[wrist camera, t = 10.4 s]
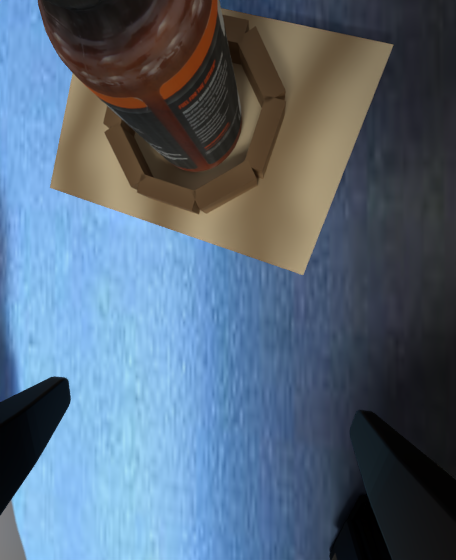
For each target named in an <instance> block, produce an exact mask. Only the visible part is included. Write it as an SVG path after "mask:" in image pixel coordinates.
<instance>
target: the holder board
mask: <svg viewBox="0 0 456 560" xmlns="http://www.w3.org/2000/svg"><path fill="white" fill-rule="evenodd" d="M221 11H222V16H223V21H224V26H225V30H226V35H227V41H228V46H229V50H230V55H231V60H232V65H233V70H234V74H235V79H236V84H237V90H238V94H239V99H240V104H241V113H242V127H241V133H240V136H239V139H238V142H237V144H236V146H235V148H234V149H233V151H232V152H231V154H230V155H229V156H228V157H227V158H226V159H225V160H224V161H223V162H222V163H220V164H219V165H218V166H216V167H214V168H212V169H209V170H206V171H200V172H189V171H185V170H183V169H180V168H178V167H176V166H174V165H173V164H171V163H170V162H169V161H167V160H166V159H165V158H164V157H163V156H162V155H161V154H159V153H158V152H157V151H156V150H155V149H154V148H153V147H152V146H151V145H150V144H148V143H147V142H146V141H145V140H144V139H143V138H142V137H141V136H140V135H139V134H137V133H136V132H135V131H134V130H133V129H132V128H131V127H130V126H128V125H127V124H126V122H124V121H123V120H122V119H121V118H120V117H119V116H118V115H117V114H116V113H115V112H114V111H112V110H111V109H110V108H109V107H108V106H107V105H106V104H105V103H104V102H102V101H101V100H100V99H99V98H98V97H97V96H96V95H95V94H94V93H93V92H92V91H91V90H90V89H89V88H88V87H86V86H85V85H84V84H83V83H82V82H81V81H80V80H79V79H78V78H77V77H76V76H75V75H74V74H73V75H72V80H71V85H70V90H69V95H68V100H67V105H66V110H65V115H64V120H63V125H62V130H61V135H60V140H59V145H58V150H57V155H56V160H55V165H54V170H53V175H52V180H51V185H50V188H52V189H55V190H58V191H61V192H64V193H67V194H70V195H73V196H75V197H78V198H81V199H84V200H87V201H90V202H93V203H96V204H99V205H102V206H104V207H107V208H110V209H113V210H116V211H119V212H122V213H125V214H128V215H130V216H133V217H136V218H139V219H142V220H145V221H148V222H151V223H154V224H157V225H159V226H162V227H165V228H168V229H171V230H174V231H177V232H180V233H183V234H185V235H188V236H191V237H194V238H197V239H200V240H203V241H206V242H209V243H212V244H214V245H217V246H220V247H223V248H226V249H229V250H232V251H235V252H238V253H240V254H243V255H246V256H249V257H252V258H255V259H258V260H261V261H264V262H267V263H269V264H272V265H275V266H278V267H281V268H284V269H287V270H290V271H293V272H295V273H298V274H301V275H303V274H304V271H305V269H306V266H307V264H308V261H309V259H310V256H311V254H312V251H313V249H314V246H315V243H316V241H317V238H318V236H319V233H320V231H321V228H322V226H323V223H324V220H325V218H326V215H327V213H328V210H329V208H330V205H331V203H332V200H333V198H334V195H335V192H336V190H337V187H338V185H339V182H340V180H341V177H342V175H343V172H344V170H345V167H346V164H347V162H348V159H349V157H350V154H351V152H352V149H353V147H354V144H355V142H356V139H357V136H358V134H359V131H360V129H361V126H362V124H363V121H364V119H365V116H366V114H367V111H368V108H369V106H370V103H371V101H372V98H373V96H374V93H375V91H376V88H377V86H378V83H379V80H380V78H381V75H382V73H383V70H384V68H385V65H386V63H387V60H388V58H389V55H390V52H391V50H392V47H393V44H388V43H383V42H378V41H374V40H369V39H364V38H360V37H355V36H350V35H345V34H341V33H336V32H331V31H326V30H322V29H317V28H312V27H308V26H303V25H298V24H293V23H289V22H284V21H279V20H275V19H270V18H265V17H260V16H256V15H251V14H246V13H241V12H237V11H232V10H227V9H223V8H221Z"/></svg>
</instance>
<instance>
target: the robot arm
mask: <svg viewBox="0 0 456 560" xmlns="http://www.w3.org/2000/svg"><path fill="white" fill-rule="evenodd" d="M70 400H71V396H70V389H69V381H68V379H67V378H64V377H50V378H48V379H46V380H44V381H42V382H40V383H38V384H36V385H34V386H32V387H30V388H28V389H26V390H24V391H22V392H20V393H18V394H16V395H14V396H12V397H10V398H8V399H6V400H4V401H2V402H0V515H1V514H2V512H3V511H4V509H5V508H6V506H7V505H8V503H9V502H10V501H11V499H12V498H13V496H14V495H15V493H16V492H17V490H18V489H19V487H20V486H21V484H22V483H23V482H24V480H25V479H26V477H27V476H28V474H29V473H30V471H31V470H32V468H33V467H34V465H35V464H36V462H37V461H38V459H39V457H40V456H41V454H42V452H43V451H44V449H45V447H46V445H47V444H48V442H49V440H50V438H51V437H52V435H53V433H54V431H55V430H56V428H57V426H58V424H59V423H60V421H61V419H62V417H63V416H64V414H65V412H66V410H67V409H68V407H69V404H70ZM350 438H351V442H352V445H353V448H354V452H355V455H356V458H357V462H358V465H359V469H360V472H361V475H362V479H363V482H364V485H365V489H366V492H367V495H368V496H366V495H362V496H360V497H359V498H358V500H357V502H356V504H355V506H354V508H353V510H352V512H351V514H350V516H349V518H348V520H347V521H346V522H345V524H344V526H343V528H342V530H341V532H340V534H339V536H338V538H337V540H336V542H335V544H334V547H333V549H332V551H331V553H330V556H329V557H330V560H456V480H455V479H454V478H453V477H452V476H450V475H449V474H448V473H447V472H445V471H444V470H443V469H442V468H441V467H439V466H438V465H437V464H436V463H434V462H433V461H432V460H431V459H430V458H428V457H427V456H426V455H425V454H423V453H422V452H421V451H420V450H419V449H417V448H416V447H415V446H414V445H413V444H411V443H410V442H409V441H408V440H406V439H405V438H404V437H403V436H402V435H400V434H399V433H398V432H397V431H395V430H394V429H393V428H392V427H391V426H389V425H388V424H387V423H386V422H384V421H383V420H382V419H381V418H380V417H378V416H377V415H376V414H375V413H373V412H371V411H365V410H358V411H357V412H356V414H355V417H354V419H353V422H352V425H351V428H350ZM365 504H366V505H365Z"/></svg>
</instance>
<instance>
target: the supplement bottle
mask: <svg viewBox="0 0 456 560" xmlns="http://www.w3.org/2000/svg"><path fill="white" fill-rule="evenodd" d="M38 6H39V9H40V13H41V16H42V20H43V24H44V27H45V30H46V33H47V35H48V37H49V39H50V41H51V43H52V45H53V47H54V48H55V50H56V52H57V54H58V55H59V57H60V58H61V60H62V61H63V62H64V63H65V65H66V66H67V67H68V68H69V69H70V70H71V71H72V72H73V74H74V75H75V76H76V77H77V78H78V79H79V80H80V81H81V82H82V83H83V84H84V85H85V86H86V87H88V88H89V89H90V90H91V91H92V92H93V93H94V94H95V95H96V96H97V97H98V98H99V99H100V100H101V101H102V102H104V103H105V104H106V105H107V106H108V107H109V108H110V109H111V110H112V111H114V112H115V113H116V114H117V115H118V116H119V117H120V118H121V119H122V120H123V121H124V122H126V124H127V125H128V126H130V127H131V128H132V129H133V130H134V131H135V132H136V133H137V134H139V135H140V136H141V137H142V138H143V139H144V140H145V141H146V142H147V143H148V144H150V145H151V146H152V147H153V148H154V149H155V150H156V151H157V152H158V153H159V154H161V155H162V156H163V157H164V158H165V159H166V160H167V161H169V162H170V163H171V164H173V165H174V166H176V167H178V168H180V169H183V170H185V171H189V172H200V171H206V170H209V169H212V168H214V167H216V166H218V165H219V164H220V163H222V162H223V161H224V160H225V159H226V158H227V157H228V156H229V155H230V154H231V152H232V151H233V149H234V148H235V146H236V144H237V142H238V139H239V136H240V133H241V127H242V113H241V104H240V99H239V94H238V90H237V84H236V79H235V74H234V70H233V65H232V60H231V55H230V50H229V46H228V41H227V35H226V30H225V26H224V21H223V16H222V11H221V6H220V1H219V0H38Z"/></svg>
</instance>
